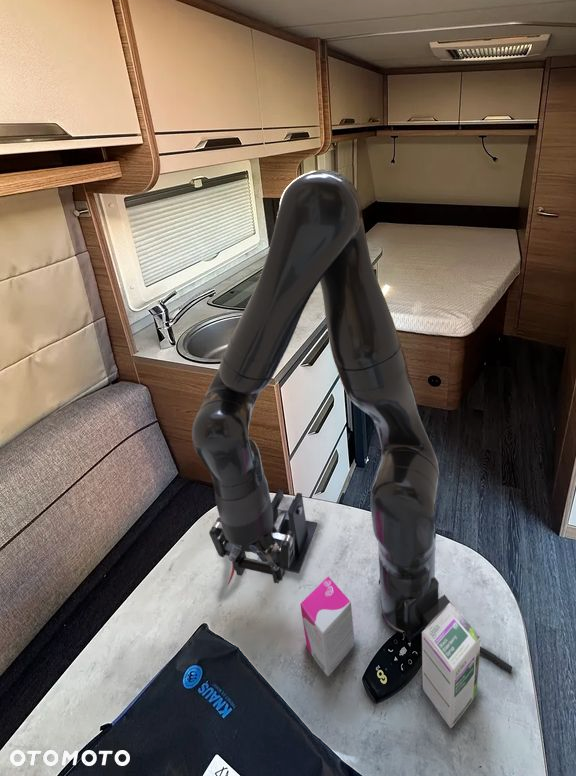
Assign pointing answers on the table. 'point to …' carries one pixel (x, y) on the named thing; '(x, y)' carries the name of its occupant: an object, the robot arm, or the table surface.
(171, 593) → the table surface
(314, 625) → the supplement box
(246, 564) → the lever
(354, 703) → the table surface
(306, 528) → the bracket
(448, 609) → the syrup box
